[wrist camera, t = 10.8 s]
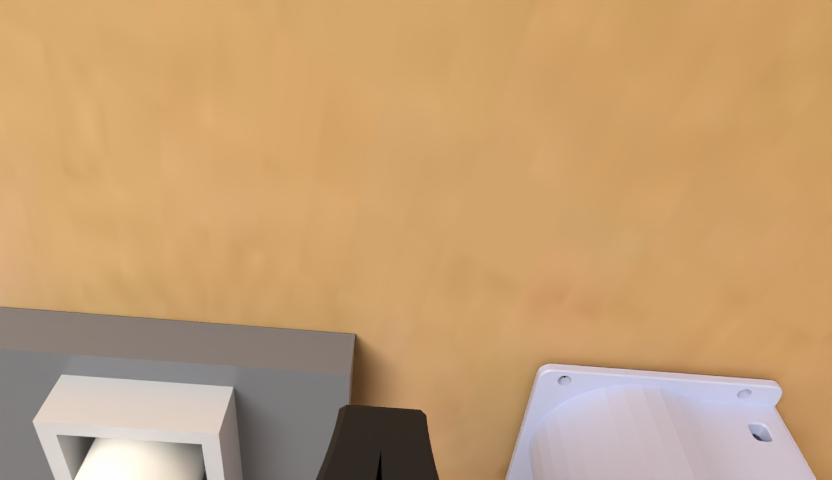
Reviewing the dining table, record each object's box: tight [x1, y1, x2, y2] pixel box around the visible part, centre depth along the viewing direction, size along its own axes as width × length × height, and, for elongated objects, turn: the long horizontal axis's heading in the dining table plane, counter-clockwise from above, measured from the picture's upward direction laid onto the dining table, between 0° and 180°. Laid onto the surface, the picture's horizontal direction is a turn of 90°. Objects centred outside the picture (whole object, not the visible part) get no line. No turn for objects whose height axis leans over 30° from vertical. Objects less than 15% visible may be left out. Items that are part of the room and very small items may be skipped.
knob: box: [74, 437, 206, 480], centre depth 22 cm, size 4×4×4 cm
